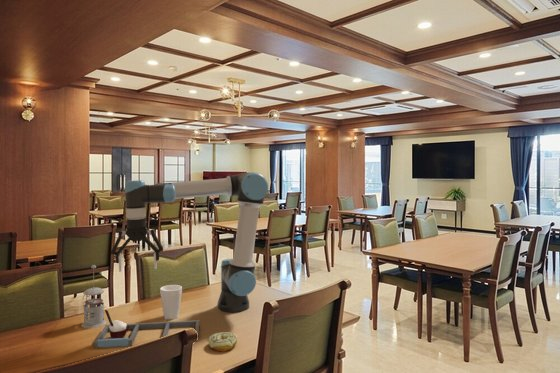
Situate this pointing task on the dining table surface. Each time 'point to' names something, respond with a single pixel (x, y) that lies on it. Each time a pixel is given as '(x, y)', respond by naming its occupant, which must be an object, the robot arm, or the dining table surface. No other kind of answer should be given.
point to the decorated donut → (222, 341)
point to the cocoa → (117, 328)
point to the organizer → (135, 327)
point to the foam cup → (171, 300)
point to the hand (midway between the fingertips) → (138, 269)
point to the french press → (93, 308)
